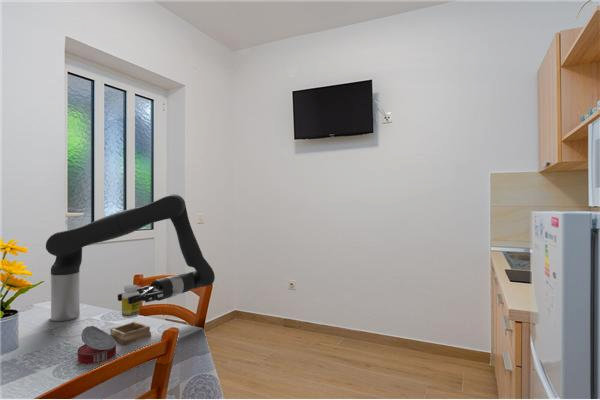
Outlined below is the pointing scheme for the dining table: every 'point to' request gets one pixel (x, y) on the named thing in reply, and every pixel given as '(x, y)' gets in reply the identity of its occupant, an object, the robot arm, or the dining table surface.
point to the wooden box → (130, 332)
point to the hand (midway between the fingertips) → (123, 299)
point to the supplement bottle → (130, 309)
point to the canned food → (96, 346)
